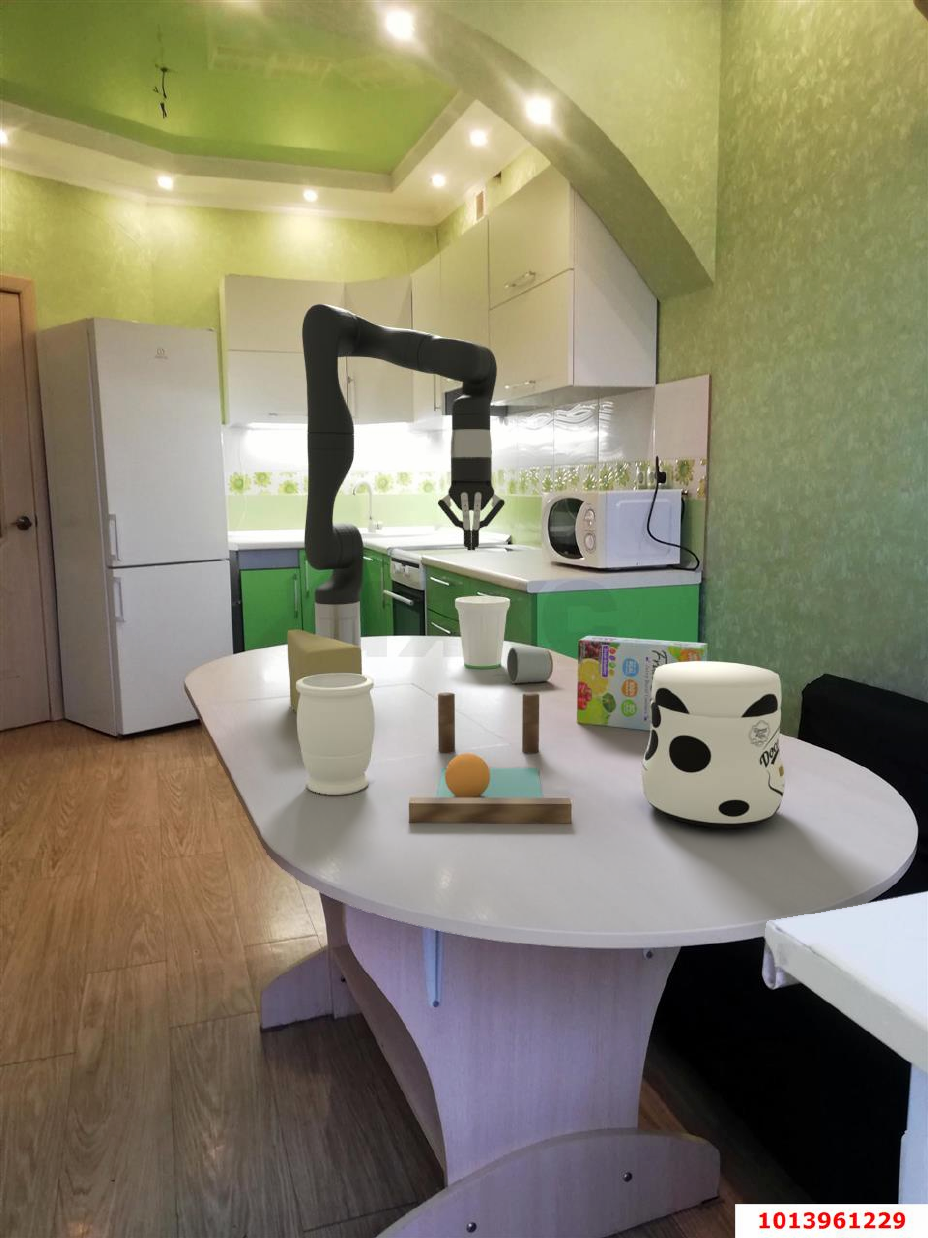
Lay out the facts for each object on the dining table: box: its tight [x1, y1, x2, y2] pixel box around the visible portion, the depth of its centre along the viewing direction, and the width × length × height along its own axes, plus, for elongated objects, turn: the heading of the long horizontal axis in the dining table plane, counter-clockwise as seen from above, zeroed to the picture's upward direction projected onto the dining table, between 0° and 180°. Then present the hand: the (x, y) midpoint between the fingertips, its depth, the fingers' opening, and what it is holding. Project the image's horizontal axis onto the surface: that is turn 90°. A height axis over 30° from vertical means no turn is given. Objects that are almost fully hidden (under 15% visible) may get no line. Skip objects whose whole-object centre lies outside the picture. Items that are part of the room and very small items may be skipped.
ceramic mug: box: [506, 646, 554, 684], centre depth 182 cm, size 11×8×8 cm
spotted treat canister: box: [641, 660, 786, 829], centre depth 108 cm, size 17×17×18 cm
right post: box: [521, 692, 540, 754], centre depth 134 cm, size 3×3×9 cm
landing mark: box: [436, 767, 543, 798], centre depth 119 cm, size 14×14×1 cm
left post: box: [437, 692, 456, 754], centre depth 134 cm, size 3×3×9 cm
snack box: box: [576, 635, 709, 732], centre depth 147 cm, size 21×6×15 cm, turn 65°
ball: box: [445, 752, 490, 798], centre depth 114 cm, size 6×6×6 cm
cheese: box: [286, 629, 363, 714], centre depth 152 cm, size 22×10×15 cm, turn 30°
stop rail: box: [408, 796, 573, 824], centre depth 107 cm, size 20×2×2 cm, turn 89°
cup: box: [454, 595, 511, 670], centre depth 197 cm, size 12×12×15 cm
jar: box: [296, 673, 376, 796], centre depth 118 cm, size 11×10×15 cm
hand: (471, 549), depth 161 cm, fingers closed
